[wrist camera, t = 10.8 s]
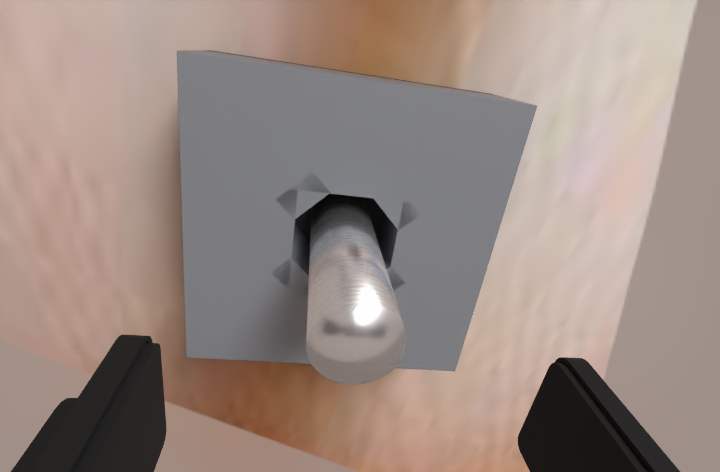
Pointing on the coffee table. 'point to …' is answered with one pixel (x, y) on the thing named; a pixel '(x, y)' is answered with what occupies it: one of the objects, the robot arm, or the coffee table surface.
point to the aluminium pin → (350, 296)
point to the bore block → (335, 176)
